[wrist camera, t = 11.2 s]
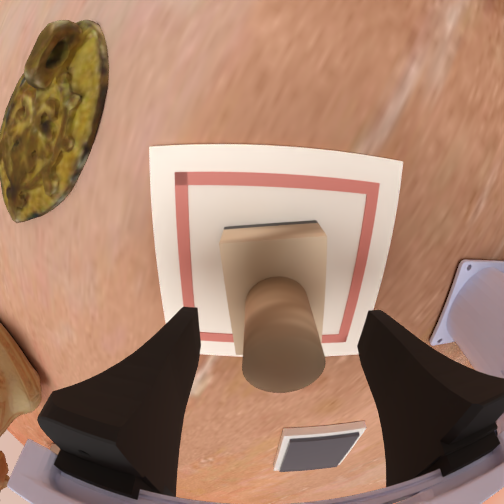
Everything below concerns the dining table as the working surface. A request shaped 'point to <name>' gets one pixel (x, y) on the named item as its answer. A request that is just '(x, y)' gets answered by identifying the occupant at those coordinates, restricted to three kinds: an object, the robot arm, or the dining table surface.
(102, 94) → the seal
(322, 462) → the ink pad
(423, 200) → the dining table surface
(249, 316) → the stamp
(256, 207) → the board
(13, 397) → the ceramic vessel
